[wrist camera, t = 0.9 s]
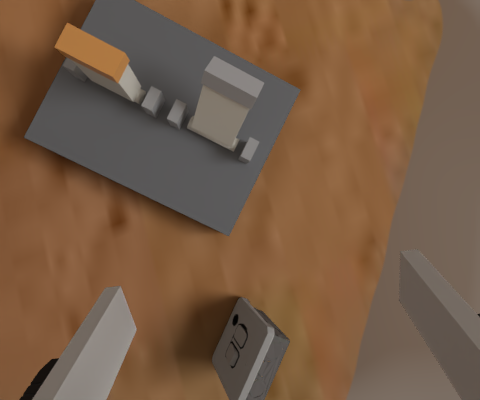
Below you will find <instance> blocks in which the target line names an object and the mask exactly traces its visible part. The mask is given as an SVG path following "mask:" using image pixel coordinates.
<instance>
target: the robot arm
mask: <svg viewBox="0 0 480 400" xmlns="http://www.w3.org/2000/svg"><path fill="white" fill-rule="evenodd" d="M399 301H400V303H401V304H402V306H403V308H404V309H405V311H406V312H407V314H408V316H409V317H410V319H411V320H412V322H413V323H414V325H415V326H416V328H417V330H418V331H419V333H420V335H421V336H422V338H423V339H424V341H425V342H426V344H427V346H428V347H429V348H430V350H431V352H432V354H433V355H434V357H435V358H436V360H437V361H438V363H439V365H440V366H441V368H442V369H443V371H444V373H445V374H446V376H447V377H448V379H449V380H450V382H451V384H452V385H453V387H454V388H455V390H456V392H457V393H458V395H459V396H460V398H461V399H462V400H480V314H476V313H475V312H474V310H473V309H472V308H471V307H470V306H469V305H468V304H467V303H466V302H465V301H464V299H463V298H462V297H461V296H460V295H459V294H458V293H457V292H456V291H455V290H454V288H453V287H452V286H451V285H450V284H449V283H448V282H447V281H446V280H445V278H444V277H443V276H442V275H441V274H440V273H439V272H438V271H437V270H436V269H435V267H434V266H433V265H432V264H431V263H430V262H429V261H428V260H427V259H426V258H425V257H424V255H422V253H421V252H420V251H419V250H418V249H417V250H408V251H400V283H399ZM136 330H137V329H136V326H135V324H134V321H133V318H132V316H131V313H130V310H129V307H128V305H127V302H126V299H125V297H124V294H123V291H122V289H121V286H116V287H108V288H105V289H104V291H103V292H102V294H101V295H100V297H99V298H98V300H97V302H96V303H95V305H94V306H93V308H92V309H91V311H90V312H89V314H88V315H87V317H86V318H85V320H84V321H83V323H82V324H81V326H80V327H79V329H78V330H77V332H76V334H75V335H74V337H73V338H72V340H71V341H70V343H69V344H68V346H67V347H66V349H65V350H64V352H63V353H62V355H61V356H60V358H58V359H52V360H50V361H49V362H48V363H47V364H46V365H45V366H44V367H43V368H42V369H41V370H40V371H39V372H38V374H37V375H36V376H35V378H34V379H33V381H32V382H31V385H30V386H29V387H28V388H27V389H26V391H25V392H24V395H23V397H21V398H20V400H106V399H107V397H108V395H109V392H110V390H111V388H112V385H113V383H114V381H115V378H116V376H117V374H118V371H119V369H120V367H121V365H122V362H123V360H124V358H125V355H126V353H127V351H128V348H129V346H130V344H131V342H132V339H133V337H134V335H135V332H136Z"/></svg>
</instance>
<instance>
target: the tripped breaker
mask: <svg viewBox="0 0 480 400" xmlns="http://www.w3.org/2000/svg"><path fill="white" fill-rule="evenodd" d="M55 48H56V49H57V50H58V51H59V52H60V53H61V54H62V55H63V56H65V57H67V58H69V59H71V60H72V61H73V62H74V63H75V64H76V65H77V66H78V67H79V68H80V69H81V70H82V72H83V73H84V74H85V75H86V76H87V77H88V78H89V79H90V80H91V81H93V82H95V83H97V84H99V85H101V86H103V87H105V88H107V89H109V90H111V91H113V92H115V93H117V94H119V95H121V96H122V97H124V98H126V99H128V100H130V101H132V102H136V103H138V104H141V103H142V102H143V100H144V98H145V95H146V91H144V90H142V89H140V88H141V85H140V83H139V81H138V80H137V78H136V76H135V75H134V73H133V71H132V70H131V68H130V66H129V64H128V63H129V61H130V60H129V58H128V57H127V55H126V53H125V52H123V51H121V50H119V49H117V48H115V47H113V46H111V45H109V44H107V43H105V42H104V41H102V40H100V39H98V38H96V37H94V36H92V35H90V34H88V33H86V32H84V31H82V30H81V29H79V28H77V27H75V26H73V25H71V24H69V23H67V24H66V26H65V28H64V30H63V31H62V33H61V35H60V37H59V39H58V41H57V43H56V45H55Z"/></svg>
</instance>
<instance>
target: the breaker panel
mask: <svg viewBox="0 0 480 400" xmlns="http://www.w3.org/2000/svg"><path fill="white" fill-rule="evenodd" d="M81 30H82V31H84V32H86V33H88V34H90V35H92V36H94V37H96V38H98V39H100V40H102V41H104V42H105V43H107V44H109V45H111V46H113V47H115V48H117V49H119V50H121V51H123V52H125V53H126V55H127V57H128V58H129V60H130V61H129V63H128V64H129V66H130V68H131V70H132V71H133V73H134V75H135V76H136V78H137V80H138V81H139V83H140V85H141V88H140V89H142V90H144V91H146V95H145V98H144V100H143V102H142V103H141V104H138V103H136V102H132V101H130V100H128V99H126V98H124V97H122V96H121V95H119V94H117V93H115V92H113V91H111V90H109V89H107V88H105V87H103V86H101V85H99V84H97V83H95V82H93V81H91V80H90V79H89V78H88V77H87V76H86V75H85V74H84V73H83V72H82V70H81V69H80V68H79V67H78V66H77V65H76V64H75V63H74V62H73V61H72V60H71V59H69V58H67V57H66V58H65V60H64V62H63V64H62V66H61V68H60V69H59V71H58V73H57V75H56V77H55V79H54V81H53V83H52V85H51V87H50V88H49V90H48V92H47V94H46V96H45V98H44V100H43V102H42V104H41V106H40V108H39V109H38V111H37V113H36V115H35V117H34V119H33V121H32V123H31V125H30V127H29V128H28V130H27V132H26V134H25V136H24V138H26V139H28V140H30V141H32V142H34V143H36V144H38V145H41V146H43V147H45V148H47V149H49V150H51V151H53V152H55V153H57V154H59V155H61V156H63V157H65V158H68V159H70V160H72V161H74V162H76V163H78V164H80V165H82V166H84V167H86V168H88V169H90V170H92V171H95V172H97V173H99V174H101V175H103V176H105V177H107V178H109V179H111V180H113V181H115V182H117V183H119V184H121V185H124V186H126V187H128V188H130V189H132V190H134V191H136V192H138V193H140V194H142V195H144V196H146V197H148V198H151V199H153V200H155V201H157V202H159V203H161V204H163V205H165V206H167V207H169V208H171V209H173V210H175V211H178V212H180V213H182V214H184V215H186V216H188V217H190V218H192V219H194V220H196V221H198V222H200V223H202V224H204V225H207V226H209V227H211V228H213V229H215V230H217V231H219V232H221V233H223V234H225V235H227V236H229V235H230V233H231V231H232V229H233V227H234V225H235V223H236V221H237V219H238V217H239V214H240V212H241V210H242V208H243V206H244V204H245V202H246V200H247V198H248V196H249V194H250V192H251V190H252V188H253V186H254V184H255V182H256V180H257V178H258V176H259V174H260V172H261V170H262V167H263V165H264V163H265V161H266V159H267V157H268V155H269V153H270V151H271V149H272V147H273V145H274V143H275V141H276V139H277V137H278V135H279V133H280V131H281V129H282V127H283V125H284V123H285V120H286V118H287V116H288V114H289V112H290V110H291V108H292V106H293V104H294V102H295V100H296V98H297V96H298V94H299V92H300V89H298V88H296V87H294V86H292V85H291V84H289V83H287V82H285V81H283V80H281V79H279V78H278V77H276V76H274V75H272V74H270V73H268V72H266V71H265V70H263V69H261V68H259V67H257V66H255V65H253V64H252V63H250V62H248V61H246V60H244V59H242V58H240V57H239V56H237V55H235V54H233V53H231V52H229V51H227V50H226V49H224V48H222V47H220V46H218V45H216V44H214V43H213V42H211V41H209V40H207V39H205V38H203V37H201V36H200V35H198V34H196V33H194V32H192V31H190V30H188V29H187V28H185V27H183V26H181V25H179V24H177V23H175V22H174V21H172V20H170V19H168V18H166V17H164V16H162V15H161V14H159V13H157V12H155V11H153V10H151V9H149V8H148V7H146V6H144V5H142V4H140V3H138V2H136V1H135V0H96V1H95V3H94V5H93V7H92V8H91V10H90V12H89V14H88V16H87V18H86V20H85V22H84V24H83V26H82V27H81ZM214 56H215V57H217V58H219V59H221V60H223V61H225V62H227V63H228V64H230V65H232V66H234V67H236V68H238V69H240V70H242V71H243V72H245V73H247V74H249V75H251V76H253V77H255V78H257V79H258V80H260V81H262V82H264V85H263V87H262V89H261V91H260V93H259V95H258V97H257V99H256V101H255V103H254V105H253V107H252V109H249V111H248V113H247V116H246V118H245V120H244V122H243V124H242V126H241V128H240V130H239V132H238V134H237V136H236V138H238V139H240V140H239V142H238V144H237V146H236V148H235V150H234V152H233V151H231V150H229V149H227V148H225V147H223V146H221V145H219V144H217V143H215V142H213V141H211V140H209V139H207V138H205V137H203V136H201V135H199V134H197V133H195V132H193V131H191V130H190V129H188V128H187V126H188V123H189V121H190V119H191V117H192V116H194V115H195V112H196V108H197V105H198V101H199V98H200V94H201V90H202V87H203V84H201V81H202V77H203V73H204V70H205V69H206V67H207V66H208V64H209V63H210V61H211V60H212V58H213V57H214Z"/></svg>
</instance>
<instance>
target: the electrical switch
mask: <svg viewBox="0 0 480 400" xmlns="http://www.w3.org/2000/svg"><path fill="white" fill-rule="evenodd" d="M286 339H287V340H286ZM289 343H290V341H289V339H288V338H287V337H286V336H285V335H284V333H283V332H282V331H281V330H280V329H279V328H278V327H277V326H276V325H275V324H274V323H273V322H272V321H271V320H270V319H269V318H268V317H267V316H266V314H265V313H264V312H263V311H260V310H257V309H256V308H254V307H252V306H251V305H250V302H249V301H248V299H246V298H242V297H240V298H239V299H238V301H237V303H236V305H235V307H234V310H233V312H232V314H231V316H230V318H229V321H228V323H227V325H226V327H225V330H224V332H223V334H222V336H221V338H220V341H219V343H218V345H217V347H216V350H215V352H214V354H213V357H212V363H213V365H214V367H215V369H216V372H217V374H218V376H219V378H220V380H221V383H222V385H223V387H224V389H225V391H226V393H227V396H228V398H229V400H264V399H265V397H266V395H267V392H268V390H269V388H270V386H271V383H272V381H273V379H274V377H275V374H276V372H277V370H278V368H279V365H280V363H281V361H282V358H283V356H284V354H285V352H286V349H287V347H288V345H289ZM263 361H264V363H263ZM268 361H271V362H268ZM257 375H258V376H257ZM261 376H263V377H261ZM256 379H257V380H256ZM255 380H256V381H255ZM265 389H266V390H265Z"/></svg>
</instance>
